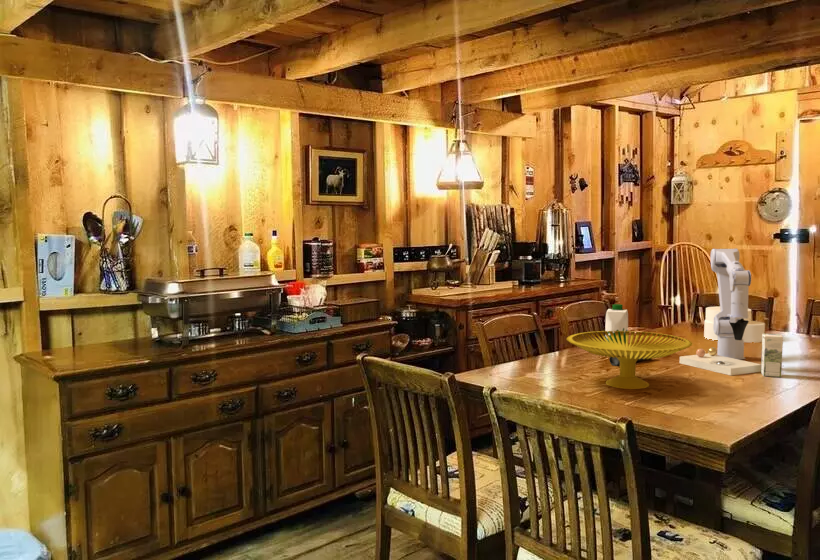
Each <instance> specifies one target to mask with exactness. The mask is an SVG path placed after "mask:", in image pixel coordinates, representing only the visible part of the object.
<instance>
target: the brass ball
mask: <svg viewBox="0 0 820 560" xmlns="http://www.w3.org/2000/svg"><path fill="white" fill-rule="evenodd" d="M707 353H709V354H710V355H711V356H714V355H717V348H716V347H713V346H711V347H709V348H708V349H707Z"/></svg>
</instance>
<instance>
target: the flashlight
mask: <svg viewBox="0 0 820 560" xmlns="http://www.w3.org/2000/svg"><path fill="white" fill-rule="evenodd" d="M608 358H609V359H608V360H609V363H610V365H611V366H613V367H620V361H619V360H618V359H617V357H614V358H613V357H608ZM645 360H651V359H650V358H648V359H646V358H645V359H642V358H640V359H638V360H637V361H636V362H640V361H645Z"/></svg>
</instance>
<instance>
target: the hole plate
mask: <svg viewBox="0 0 820 560" xmlns="http://www.w3.org/2000/svg"><path fill="white" fill-rule="evenodd" d="M719 361H722V362H724V363H725V364H716V363H717V362H719ZM679 364H682V365H686V366H690V367H695V368H698V369H702V370H707V371H710V372H715V373H717V374H723V375H728V376H737V375H745V374H752V373H760V372H761V363H756V362H752V361H746V360H744V359H740V360H738V359H734V358H729V357H724V356H719V355H717V354H716V355H714V356H711V355H710V354H709V353H708V352H707V353H705V355H704V356H703V357H699V356H697V354H692V355H691V354H690V355H683V356H682V355H681V356H679Z"/></svg>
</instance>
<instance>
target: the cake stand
mask: <svg viewBox="0 0 820 560" xmlns="http://www.w3.org/2000/svg"><path fill="white" fill-rule="evenodd" d="M608 332H609V333H610V335H611V337H612V339H613V342H614V343H613V342H612V341H611V339H610V337H609V335H608ZM608 332H607V331H605V330H601V331H599V330H598V331H587V332H579V333H576V334H575V333H573V334H571V335H569V336H567V337H566V341H567V342H569V344H572V345H574V346H576V347H578V348H579V349H581V350H583V351H586V352H588V353H590V354H592V355H595V356H601V357H605V358H606V357H608V358H610V357H613V358H614V357H617V359H618V360H619V361H620V366H619V375H617V376H614V377H612V378H610V379H608V380H606V382H605V384H606V385H607V386H609V387H613V388H616V389H623V390H624V389H626V390H638V389H639V390H641V389H645V388H649V387H650V383H649V382H647V381H645V380H644V379H642V378H640V377H638V376H636V365H637V362H638V361H637V360H638V359H640V358H642V359H645V358H646V360H652V359H660V358H664V357H669V356H671V355H674V354H676V353H678V352H680V351H683V350H685V349H688V348H690V347H691V346H693V342H692V341H691V340H690V339H687V338H684V337H681V336H677V335H671V334H666V333H665V334H664V333H658V332H650V331H649V332H648V331H634V330H633V331H632V330H631V331H630V330H628V331H625V334H626V344H625V343H624V331H619V332H620V335H621V340H622V344H621V342H620V340H619V335H618V331H614V333H615V335H616V338H617V341H618V343H617V342H616V340H615V338H614V335H613V331H608ZM605 335H606V336H607V338H608V340H609V342H608V341H607V339H606V338H605ZM634 335H635V339H634ZM629 336H630V342H629ZM597 337H598V338H597ZM639 337H640V338H639ZM649 337H650V338H649ZM654 337H655V338H654ZM643 339H644V340H643ZM648 339H649V340H648ZM638 340H639V341H638ZM648 358H650V359H648Z"/></svg>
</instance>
